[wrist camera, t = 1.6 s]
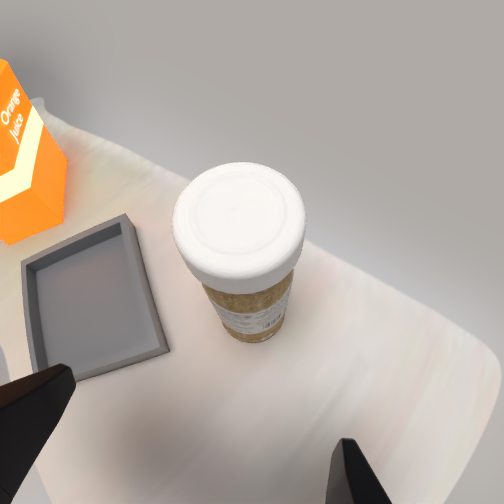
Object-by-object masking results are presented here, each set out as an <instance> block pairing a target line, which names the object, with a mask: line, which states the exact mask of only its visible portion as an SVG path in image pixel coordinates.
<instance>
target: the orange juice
mask: <svg viewBox="0 0 504 504" xmlns="http://www.w3.org/2000/svg"><path fill="white" fill-rule="evenodd" d="M66 166H67V159H66V158H65V156H64V155H63V153H62V152H61V150H60V149H59V147H58V146H57V144H56V143H55V141H54V140H53V138H52V137H51V135H50V133H49V132H48V130H47V129H46V127H45V126H44V123H43V122H42V120H41V118H40V117H39V115H38V113H37V112H36V110H35V109H34V107H33V106H32V105H31V103H30V101H29V100H28V98H27V96H26V95H25V93H24V91H23V90H22V88H21V86H20V84H19V83H18V81H17V79H16V77H15V75H14V74H13V72H12V70H11V68H10V66H9V65H8V62H7V61H4V60H2V59H0V239H2V240H3V241H4V242H5V243H7V244H8V245H11V244H13V243H15V242H18V241H20V240H22V239H25V238H27V237H29V236H32V235H34V234H36V233H39V232H41V231H44V230H46V229H49V228H51V227H53V226H56V225H58V224H61V223H63V205H64V189H65V176H66Z"/></svg>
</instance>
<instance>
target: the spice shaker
mask: <svg viewBox="0 0 504 504" xmlns="http://www.w3.org/2000/svg"><path fill="white" fill-rule="evenodd" d="M305 229H306V210H305V206H304V203H303V200H302V198H301V195H300V193H299V192H298V190H297V189H296V187H295V186H294V185H293V184H292V182H290V181H289V180H288V179H287V178H286V177H285V176H284V175H282V174H280V173H279V172H278V171H276V170H273V169H272V168H269V167H267V166H264V165H260V164H256V163H248V162H236V163H228V164H224V165H220V166H217V167H214V168H211V169H209V170H207V171H205V172H204V173H202V174H201V175H199V176H198V177H196V178H195V179H194V180H193V181H191V182H190V183H189V184H188V185H187V187H186V188H185V189H184V190H183V192H182V193H181V195H180V196H179V198H178V200H177V202H176V205H175V208H174V211H173V216H172V232H173V237H174V240H175V243H176V246H177V248H178V250H179V252H180V254H181V256H182V258H183V260H184V262H185V263H186V265H187V267H188V268H189V270H190V271H191V273H192V274H193V275H194V276H195V277H196V278H197V279H198V280H199V281H200V282H201V283H202V286H203V288H204V290H205V292H206V294H207V296H208V297H209V299H210V301H211V303H212V304H213V306H214V308H215V310H216V311H217V313H218V315H219V317H220V318H221V320H222V323H223V325H224V327H225V328H226V329H227V331H228V332H229V333H230V334H231V335H232V336H233V337H234V338H236V339H238V340H240V341H242V342H249V343H256V342H261V341H264V340H267V339H268V338H270V337H271V336H273V335H274V334H275V333H276V332H277V331H278V330H279V328H280V327H281V324H282V322H283V319H284V311H285V309H286V305H287V301H288V297H289V292H290V288H291V284H292V279H293V272H294V268H293V267H294V266H295V265H296V263H297V261H298V259H299V257H300V254H301V250H302V246H303V241H304V235H305Z"/></svg>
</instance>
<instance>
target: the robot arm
mask: <svg viewBox="0 0 504 504" xmlns="http://www.w3.org/2000/svg"><path fill="white" fill-rule="evenodd" d="M75 388H76V382H75V378H74V375H73V371H72V369H71V367H70V366H67V365H65V364H63V363H59V364H57V365H54V366H51V367H49V368H46V369H44V370H41V371H39V372H36V373H33V374H31V375H28V376H26V377H23V378H20V379H18V380H15V381H13V382H10V383H7V384H5V385H2V386H0V504H11V502H12V500H13V498H14V496H15V494H16V493H17V491H18V489H19V487H20V485H21V484H22V482H23V480H24V478H25V477H26V475H27V473H28V471H29V470H30V468H31V466H32V465H33V463H34V461H35V460H36V458H37V456H38V455H39V453H40V451H41V450H42V448H43V446H44V445H45V443H46V442H47V440H48V438H49V437H50V435H51V434H52V432H53V430H54V429H55V427H56V426H57V424H58V422H59V420H60V419H61V417H62V415H63V413H64V411H65V408H66V406H67V404H68V402H69V400H70V398H71V396H72V394H73V392H74V390H75ZM325 504H392V502H391V501H390V499H389V497H388V496H387V494H386V492H385V491H384V489H383V487H382V485H381V484H380V482H379V480H378V479H377V477H376V475H375V473H374V472H373V470H372V468H371V467H370V465H369V463H368V462H367V460H366V458H365V456H364V455H363V453H362V451H361V450H360V448H359V446H358V444H357V443H356V441H355V440H354V439H351V438H341V439H340V440H339V442H338V444H337V446H336V448H335V449H334V451H333V453H332V457H331V464H330V472H329V479H328V486H327V492H326V502H325Z"/></svg>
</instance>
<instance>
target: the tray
mask: <svg viewBox="0 0 504 504" xmlns="http://www.w3.org/2000/svg"><path fill="white" fill-rule="evenodd" d="M21 277H22V294H23V306H24V316H25V325H26V333H27V340H28V347H29V353H30V359H31V364H32V370H33V373H36V372H39V371H41V370H44V369H46V368H49V367H51V366H54V365H57V364H59V363H63V364H65V365H67V366H70V367H71V369H72V371H73V375H74V378H75V382H77V381H81V380H84V379H87V378H91V377H94V376H97V375H100V374H104V373H107V372H110V371H113V370H116V369H119V368H123V367H126V366H129V365H132V364H135V363H138V362H141V361H144V360H147V359H150V358H153V357H156V356H159V355H161V354H164V353H167V352H170V351H169V348H168V345H167V342H166V339H165V336H164V332H163V329H162V326H161V323H160V320H159V316H158V313H157V310H156V306H155V303H154V300H153V296H152V293H151V289H150V286H149V282H148V278H147V275H146V271H145V267H144V263H143V259H142V255H141V251H140V247H139V243H138V239H137V235H136V231H135V227H134V225H133V224H132V222H131V221H130V219H129V218H128V216H127V215H126V213H125V214H122V215H120V216H118V217H115V218H113V219H111V220H108V221H106V222H104V223H101V224H99V225H97V226H94V227H92V228H90V229H88V230H85V231H83V232H81V233H79V234H77V235H75V236H72V237H70V238H68V239H66V240H64V241H62V242H60V243H57V244H55V245H53V246H51V247H49V248H47V249H45V250H43V251H41V252H39V253H37V254H35V255H33V256H31V257H29V258H27V259H25V260H23V261H21Z"/></svg>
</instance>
